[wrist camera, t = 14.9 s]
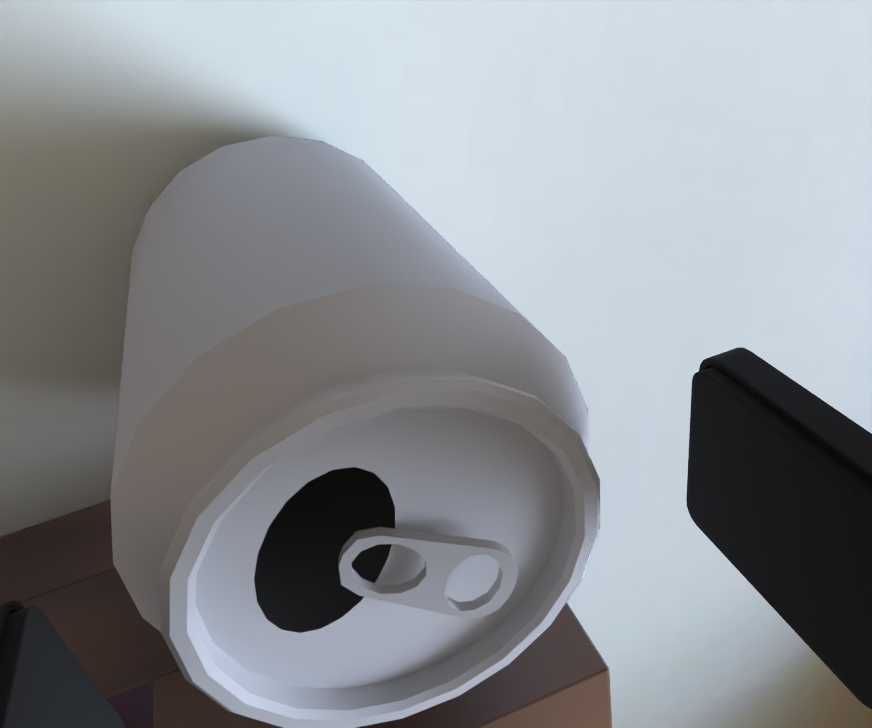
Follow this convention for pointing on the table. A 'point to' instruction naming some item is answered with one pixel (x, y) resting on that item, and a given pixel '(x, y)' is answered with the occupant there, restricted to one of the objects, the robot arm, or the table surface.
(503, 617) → the can
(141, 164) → the table surface
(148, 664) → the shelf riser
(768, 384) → the robot arm
